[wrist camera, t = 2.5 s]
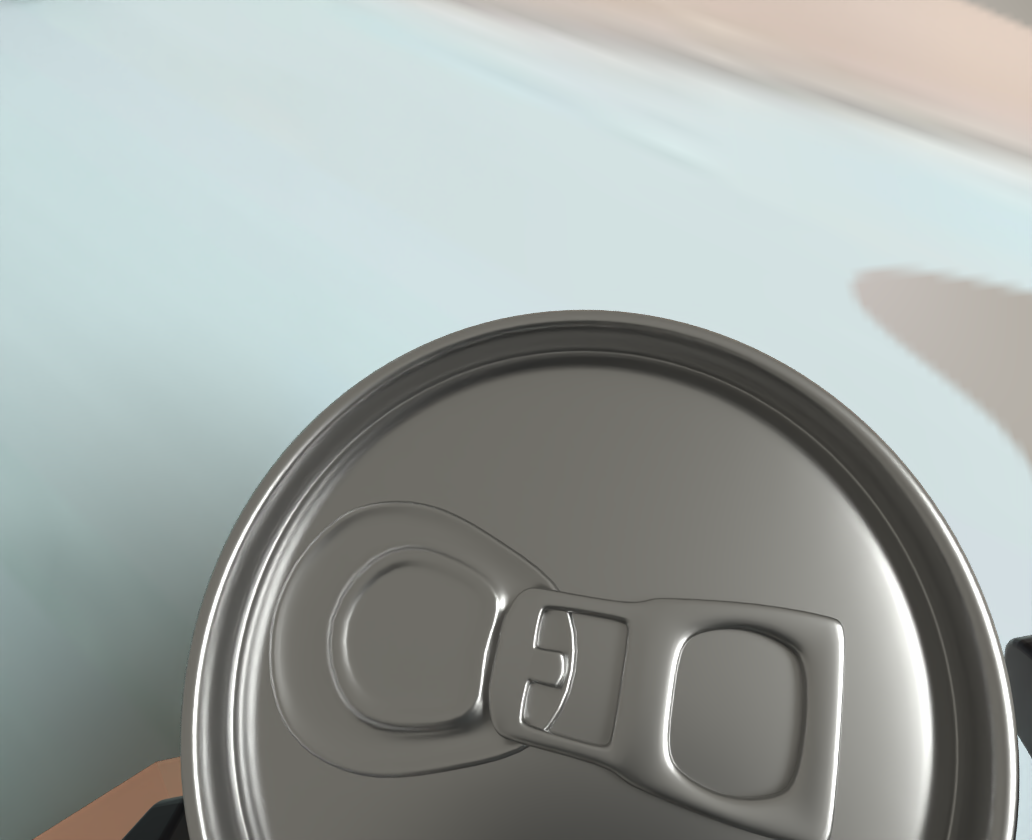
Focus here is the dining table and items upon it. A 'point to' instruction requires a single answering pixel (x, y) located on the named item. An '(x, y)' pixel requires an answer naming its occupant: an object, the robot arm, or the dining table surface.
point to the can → (594, 611)
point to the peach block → (121, 805)
